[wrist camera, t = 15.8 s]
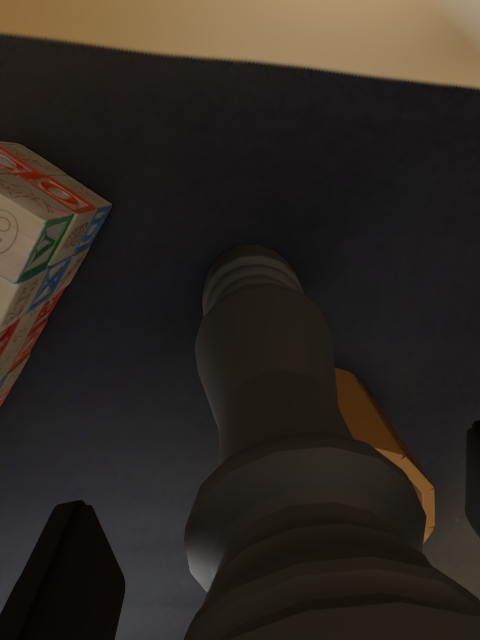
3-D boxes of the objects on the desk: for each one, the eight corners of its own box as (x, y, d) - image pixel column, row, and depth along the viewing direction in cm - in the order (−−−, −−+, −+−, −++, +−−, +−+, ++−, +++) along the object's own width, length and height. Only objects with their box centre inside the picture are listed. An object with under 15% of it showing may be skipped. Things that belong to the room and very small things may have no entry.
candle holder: (259, 224, 24) (1103, 1501, 1) (313, 296, 26) (1043, 1318, 3) (185, 283, 25) (-234, 1484, 2) (242, 348, 27) (346, 1357, 4)
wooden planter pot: (247, 494, 32) (255, 607, 24) (217, 379, 28) (215, 468, 20) (380, 470, 32) (436, 576, 24) (370, 349, 28) (434, 427, 19)
